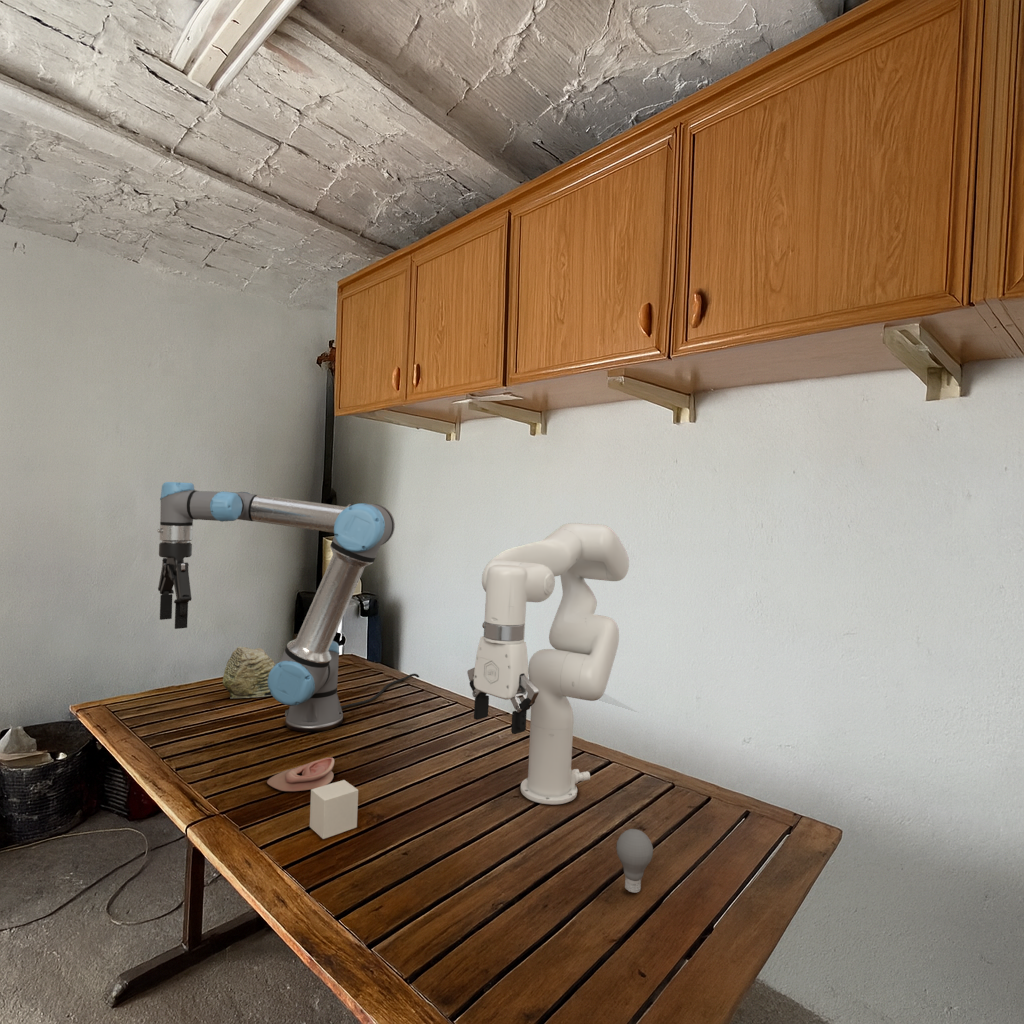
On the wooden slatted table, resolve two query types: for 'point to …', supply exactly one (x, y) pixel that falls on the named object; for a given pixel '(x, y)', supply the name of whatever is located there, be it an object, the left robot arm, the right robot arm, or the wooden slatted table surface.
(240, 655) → the fossil
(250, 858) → the wooden slatted table surface
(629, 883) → the light bulb
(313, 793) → the brick
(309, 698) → the left robot arm
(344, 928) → the wooden slatted table surface
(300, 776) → the anatomical model
